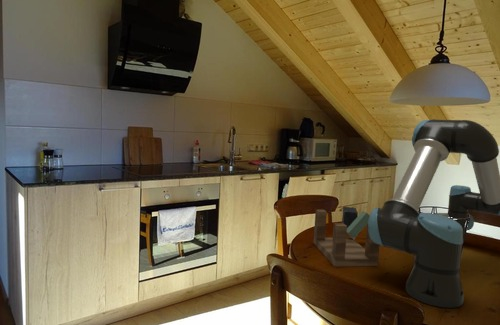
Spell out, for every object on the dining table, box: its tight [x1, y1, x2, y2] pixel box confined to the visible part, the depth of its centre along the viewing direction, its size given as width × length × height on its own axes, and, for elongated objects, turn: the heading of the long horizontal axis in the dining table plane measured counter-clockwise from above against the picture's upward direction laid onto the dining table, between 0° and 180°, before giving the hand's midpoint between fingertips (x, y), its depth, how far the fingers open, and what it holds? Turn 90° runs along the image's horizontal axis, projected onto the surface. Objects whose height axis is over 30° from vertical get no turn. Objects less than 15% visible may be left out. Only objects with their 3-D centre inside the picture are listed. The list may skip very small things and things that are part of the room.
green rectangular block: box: [347, 210, 370, 241], centre depth 146 cm, size 4×4×12 cm
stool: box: [313, 208, 381, 267], centre depth 135 cm, size 24×16×14 cm, turn 7°
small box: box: [341, 206, 359, 228], centre depth 166 cm, size 11×6×10 cm, turn 168°
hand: (384, 221), depth 147 cm, fingers closed
